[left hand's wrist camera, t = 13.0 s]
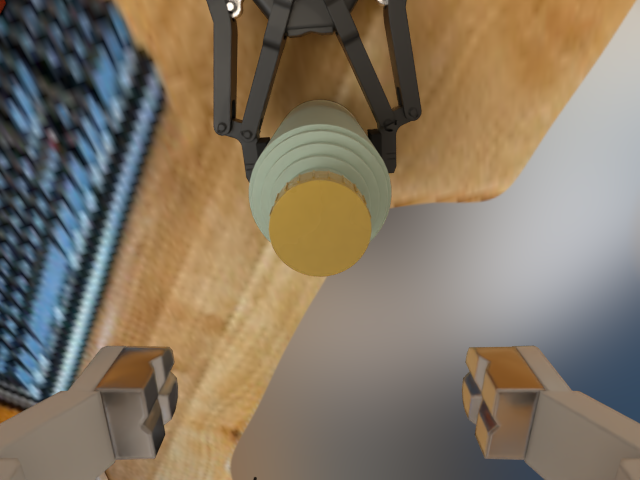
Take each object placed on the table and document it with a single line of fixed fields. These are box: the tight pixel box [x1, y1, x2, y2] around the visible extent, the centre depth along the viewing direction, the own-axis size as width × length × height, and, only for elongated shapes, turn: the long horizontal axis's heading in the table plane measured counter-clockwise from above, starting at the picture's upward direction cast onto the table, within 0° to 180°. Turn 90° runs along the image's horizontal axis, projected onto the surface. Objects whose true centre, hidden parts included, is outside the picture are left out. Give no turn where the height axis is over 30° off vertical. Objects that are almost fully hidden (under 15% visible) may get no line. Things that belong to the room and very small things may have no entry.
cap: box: [269, 170, 372, 277], centre depth 20 cm, size 5×5×2 cm
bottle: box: [249, 100, 391, 243], centre depth 30 cm, size 8×8×22 cm
